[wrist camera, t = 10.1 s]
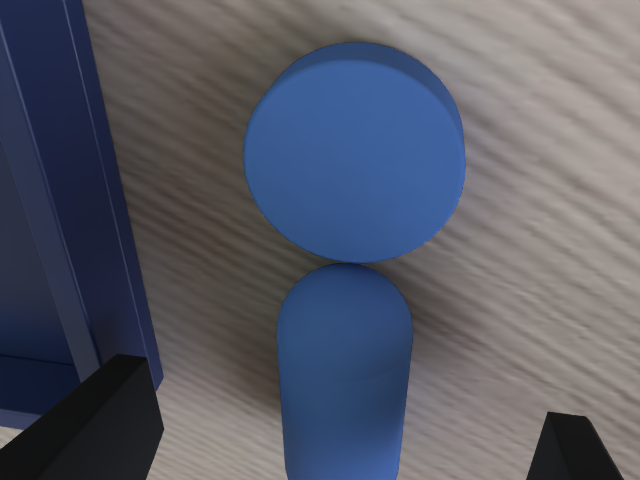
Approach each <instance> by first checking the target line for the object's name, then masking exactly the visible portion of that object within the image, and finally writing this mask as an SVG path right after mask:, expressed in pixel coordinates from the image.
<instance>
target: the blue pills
mask: <svg viewBox="0 0 640 480" xmlns="http://www.w3.org/2000/svg"><path fill="white" fill-rule="evenodd" d="M243 165H244V171H245V177H246V180H247V183H248V187H249V190H250V192H251V194H252V197H253V199H254V201H255V203H256V204H257V206H258V208H259V209H260V211H261V213H262V214H263V215H264V217H265V218H266V219H267V220H268V222H269V223H270V224H271V225H272V226H273V227H274V228H275V229H276V230H277V231H278V232H279V233H280V234H282V235H283V236H284V237H285V238H287V239H288V240H289V241H291V242H292V243H294V244H295V245H297V246H298V247H300V248H302V249H304V250H306V251H308V252H310V253H313V254H315V255H318V256H321V257H324V258H328V259H331V260H335V261H342V262H349V263H336V264H331V265H327V266H324V267H321V268H318V269H316V270H314V271H312V272H310V273H308V274H307V275H306V276H304V277H303V278H302V279H301V280H299V281H298V282H297V283H296V284H295V285H294V286H293V288H292V289H291V290H290V292H289V293H288V295H287V296H286V298H285V300H284V302H283V304H282V306H281V309H280V312H279V317H278V321H277V349H278V364H279V380H280V395H281V411H282V426H283V442H284V457H285V469H286V473H287V477H288V480H396V478H397V474H398V469H399V460H400V451H401V442H402V433H403V424H404V415H405V406H406V397H407V388H408V379H409V370H410V361H411V352H412V342H413V327H412V318H411V315H410V311H409V308H408V306H407V303H406V301H405V299H404V298H403V296H402V294H401V293H400V291H399V290H398V289H397V287H396V286H395V285H394V284H393V283H392V282H390V281H389V280H388V279H387V278H386V277H385V276H384V275H382V274H381V273H379V272H377V271H375V270H373V269H370V268H368V267H365V266H362V265H358V264H352V263H370V262H378V261H384V260H388V259H392V258H395V257H399V256H401V255H403V254H406V253H408V252H410V251H412V250H414V249H416V248H417V247H419V246H421V245H422V244H424V243H425V242H426V241H428V240H429V239H430V238H431V237H433V236H434V235H435V234H436V233H437V232H438V231H439V230H440V229H441V228H442V227H443V225H444V224H445V223H446V222H447V220H448V219H449V218H450V216H451V214H452V213H453V211H454V209H455V207H456V206H457V203H458V201H459V198H460V195H461V193H462V189H463V184H464V180H465V167H466V164H465V149H464V135H463V127H462V122H461V118H460V115H459V112H458V109H457V107H456V104H455V102H454V100H453V99H452V97H451V95H450V93H449V91H448V90H447V89H446V87H445V86H444V85H443V83H442V82H441V81H440V79H439V78H438V77H437V76H436V75H435V74H434V73H433V72H432V71H431V70H430V69H428V68H427V67H426V66H424V65H423V64H422V63H420V62H419V61H418V60H416V59H414V58H412V57H411V56H409V55H407V54H405V53H403V52H401V51H398V50H396V49H393V48H390V47H386V46H382V45H378V44H373V43H363V42H351V43H341V44H335V45H330V46H327V47H324V48H320V49H317V50H315V51H313V52H311V53H309V54H307V55H305V56H303V57H302V58H300V59H299V60H297V61H296V62H294V63H293V64H292V65H290V66H289V67H288V68H287V69H286V70H285V71H284V72H283V73H282V74H281V75H280V76H279V77H278V79H277V80H276V81H275V82H274V83H273V85H272V86H271V87H270V89H269V90H268V91H267V92H266V94H265V95H264V96H263V97H262V99H261V100H260V102H259V103H258V105H257V106H256V108H255V110H254V111H253V113H252V116H251V118H250V120H249V123H248V126H247V129H246V133H245V137H244V145H243Z"/></svg>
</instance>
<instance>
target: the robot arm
mask: <svg viewBox="0 0 640 480" xmlns="http://www.w3.org/2000/svg"><path fill="white" fill-rule="evenodd" d="M163 431H164V426H163V422H162V418H161V414H160V409H159V405H158V401H157V397H156V392H155V388H154V384H153V380H152V376H151V371H150V367H149V363H148V359H147V357H140V356H133V355H125V354H118V353H117V354H116V355H115V356H113V357H112V358H111V359H110V360H109V361H107V362H106V363H105V364H104V365H102V366H101V367H100V368H99V369H98V370H96V371H95V372H94V373H93V374H92V375H90V376H89V377H88V378H87V379H86V380H84V381H83V382H82V383H81V384H80V385H78V386H77V387H76V388H75V389H74V390H72V391H71V392H70V393H69V394H68V395H66V396H65V397H64V398H63V399H62V400H61V401H59V402H58V403H57V404H56V405H55V406H53V407H52V408H51V409H50V410H49V411H47V412H46V413H45V414H44V415H42V416H41V417H40V418H39V419H37V420H36V421H35V422H34V423H32V424H31V425H30V426H29V427H28V428H26V429H25V430H24V431H23V432H21V433H20V434H19V435H18V436H16V437H15V438H14V439H13V440H11V441H10V442H9V443H8V444H6V445H5V446H4V447H3V448H1V449H0V480H146V478H147V475H148V472H149V470H150V467H151V465H152V462H153V459H154V457H155V454H156V451H157V448H158V445H159V442H160V440H161V437H162V434H163ZM526 480H624V479H623V477H622V475H621V474H620V472H619V470H618V469H617V467H616V465H615V464H614V462H613V460H612V458H611V457H610V455H609V453H608V451H607V450H606V448H605V446H604V444H603V443H602V441H601V439H600V437H599V436H598V434H597V432H596V430H595V428H594V427H593V425H592V423H591V422H590V421H589V419H588V418H587V417H585V416H577V415H570V414H563V413H555V412H548V413H547V416H546V419H545V422H544V425H543V428H542V432H541V435H540V438H539V441H538V444H537V447H536V450H535V454H534V457H533V460H532V463H531V466H530V469H529V473H528V476H527V479H526Z"/></svg>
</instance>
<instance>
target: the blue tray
mask: <svg viewBox="0 0 640 480" xmlns="http://www.w3.org/2000/svg"><path fill="white" fill-rule="evenodd" d="M117 353H118V354H125V355H133V356H140V357H147V359H148V363H149V367H150V371H151V376H152V380H153V384H154V388H155V392H156V391H157V389H158V387H159V385H160V383H161V382H162V380H163V372H162V367H161V362H160V358H159V353H158V349H157V344H156V340H155V335H154V330H153V326H152V321H151V317H150V312H149V308H148V303H147V298H146V294H145V289H144V285H143V280H142V276H141V271H140V266H139V262H138V257H137V253H136V248H135V243H134V239H133V234H132V230H131V225H130V221H129V216H128V211H127V207H126V202H125V198H124V193H123V189H122V184H121V179H120V175H119V170H118V166H117V161H116V157H115V152H114V147H113V143H112V138H111V134H110V129H109V124H108V120H107V115H106V111H105V106H104V102H103V97H102V92H101V88H100V83H99V79H98V74H97V70H96V65H95V60H94V56H93V51H92V47H91V42H90V38H89V33H88V28H87V24H86V19H85V15H84V10H83V5H82V1H81V0H0V426H2V427H8V428H14V429H21V430H25V429H26V428H28V427H29V426H30V425H31V424H32V423H34V422H35V421H36V420H37V419H39V418H40V417H41V416H42V415H44V414H45V413H46V412H47V411H49V410H50V409H51V408H52V407H53V406H55V405H56V404H57V403H58V402H59V401H61V400H62V399H63V398H64V397H65V396H66V395H68V394H69V393H70V392H71V391H72V390H74V389H75V388H76V387H77V386H78V385H80V384H81V383H82V382H83V381H84V380H86V379H87V378H88V377H89V376H90V375H92V374H93V373H94V372H95V371H96V370H98V369H99V368H100V367H101V366H102V365H104V364H105V363H106V362H107V361H109V360H110V359H111V358H112V357H113V356H115V355H116V354H117Z"/></svg>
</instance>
